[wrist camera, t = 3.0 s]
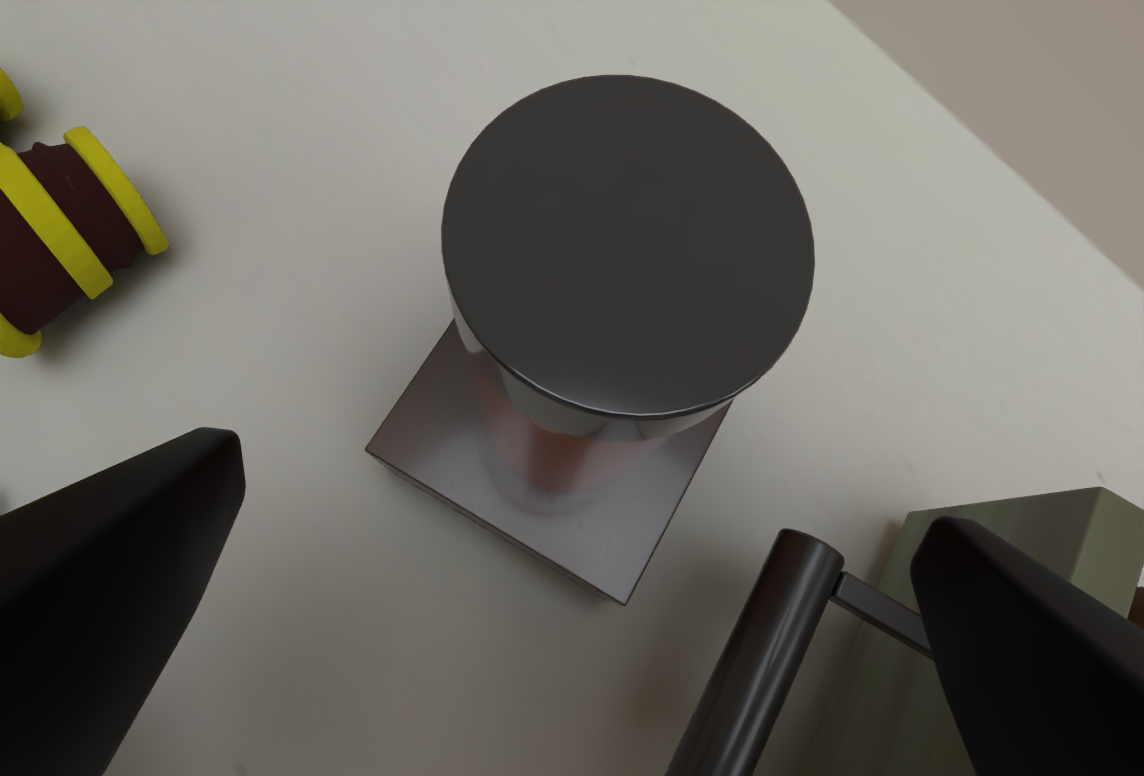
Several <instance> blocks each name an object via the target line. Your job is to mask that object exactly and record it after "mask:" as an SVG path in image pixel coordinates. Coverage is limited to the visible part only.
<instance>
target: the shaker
mask: <svg viewBox="0 0 1144 776" xmlns="http://www.w3.org/2000/svg"><path fill="white" fill-rule="evenodd" d="M441 251H442V257H443V263H444V269H445V275H446V280H447V285H448V289H449V294H450V299H451V304H452V309H453V314H454V318H455V321H456V324H457V327H458V330H459V334H460V337H461V339H462V341H463V343H464V345H465V347H466V349H467V351H468V355H469V361H470V367H471V372H472V378H473V384H474V389H475V395H476V401H477V406H478V412H479V418H480V422H481V426H482V429H483V432H484V434H485V437H486V439H487V441H488V443H489V445H490V446H491V448H492V449H493V451H494V453H495V454H496V455H497V456H498V458H499V459H500V460H501V461H502V462H503V463H504V464H505V465H506V466H507V467H508V468H509V469H510V470H511V471H512V472H514V473H515V474H517V475H518V476H520V477H521V478H523V479H525V480H527V481H529V482H531V483H532V484H535V485H538V486H540V487H543V488H547V489H552V490H556V491H568V492H572V491H584V490H589V489H594V488H597V487H600V486H603V485H606V484H608V483H610V482H612V481H614V480H616V479H618V478H619V477H620V476H622V475H623V474H625V473H626V472H628V471H629V470H630V469H631V468H633V467H634V466H635V465H637V464H638V463H639V462H640V461H642V460H643V459H644V458H646V457H647V456H648V455H649V454H651V453H652V452H653V451H655V450H656V449H657V448H658V447H660V446H661V445H662V444H663V443H665V442H666V441H667V440H669V439H670V438H671V437H672V436H674V435H675V434H676V433H678V432H680V431H683V430H685V429H687V428H689V427H691V426H693V425H695V424H697V423H699V422H701V421H703V420H704V419H706V418H707V417H709V416H710V415H712V414H713V413H715V412H716V411H718V410H719V409H720V408H722V407H723V406H725V405H726V404H727V403H729V402H730V401H731V400H733V399H734V398H735V397H737V396H738V395H739V394H741V393H742V392H744V391H745V390H746V389H748V388H749V387H750V386H752V385H753V384H754V383H755V382H757V381H758V380H759V379H760V378H761V377H762V376H763V375H764V374H765V373H767V372H768V371H769V370H770V369H771V368H772V367H773V366H774V364H775V363H776V362H777V361H778V360H779V358H780V357H781V356H782V355H783V354H784V352H785V351H786V350H787V348H788V347H789V345H790V343H791V342H792V340H793V338H794V337H795V335H796V333H797V332H798V330H799V327H800V325H801V323H802V320H803V318H804V315H805V313H806V311H807V307H808V303H809V299H810V295H811V292H812V286H813V277H814V268H815V256H814V239H813V233H812V228H811V222H810V218H809V215H808V212H807V208H806V205H805V202H804V199H803V197H802V195H801V193H800V190H799V188H798V186H797V184H796V182H795V179H794V178H793V176H792V175H791V173H790V171H789V170H788V168H787V166H786V165H785V163H784V162H783V160H782V159H781V158H780V156H779V155H778V154H777V153H776V151H775V150H774V149H773V148H772V146H771V145H770V144H769V143H768V142H767V141H766V140H765V139H764V138H763V137H762V136H761V135H760V134H759V133H758V132H757V131H756V130H755V129H754V128H753V127H752V126H751V125H750V124H748V123H747V122H746V121H745V120H743V119H742V118H741V117H740V116H738V115H737V114H736V113H734V112H733V111H731V110H730V109H728V108H727V107H725V106H723V105H722V104H720V103H719V102H717V101H715V100H713V99H711V98H709V97H707V96H705V95H703V94H701V93H699V92H697V91H694V90H692V89H689V88H686V87H683V86H680V85H677V84H675V83H671V82H667V81H663V80H658V79H654V78H648V77H640V76H632V75H600V76H590V77H582V78H578V79H573V80H569V81H564V82H561V83H558V84H555V85H552V86H549V87H546V88H544V89H541V90H539V91H537V92H535V93H533V94H531V95H529V96H527V97H525V98H523V99H521V100H519V101H518V102H516V103H515V104H514V105H512V106H511V107H509V108H508V109H506V110H505V111H503V112H502V113H501V114H500V115H499V116H497V117H496V118H495V119H494V120H493V121H492V122H491V123H490V124H488V125H487V126H486V127H485V129H484V130H483V131H482V132H481V133H480V134H479V136H478V137H477V138H476V139H475V140H474V141H473V143H472V144H471V145H470V147H469V148H468V150H467V152H466V153H465V155H464V156H463V158H462V160H461V161H460V163H459V165H458V167H457V169H456V171H455V174H454V176H453V178H452V180H451V183H450V186H449V189H448V193H447V196H446V200H445V203H444V209H443V217H442V224H441Z"/></svg>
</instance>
